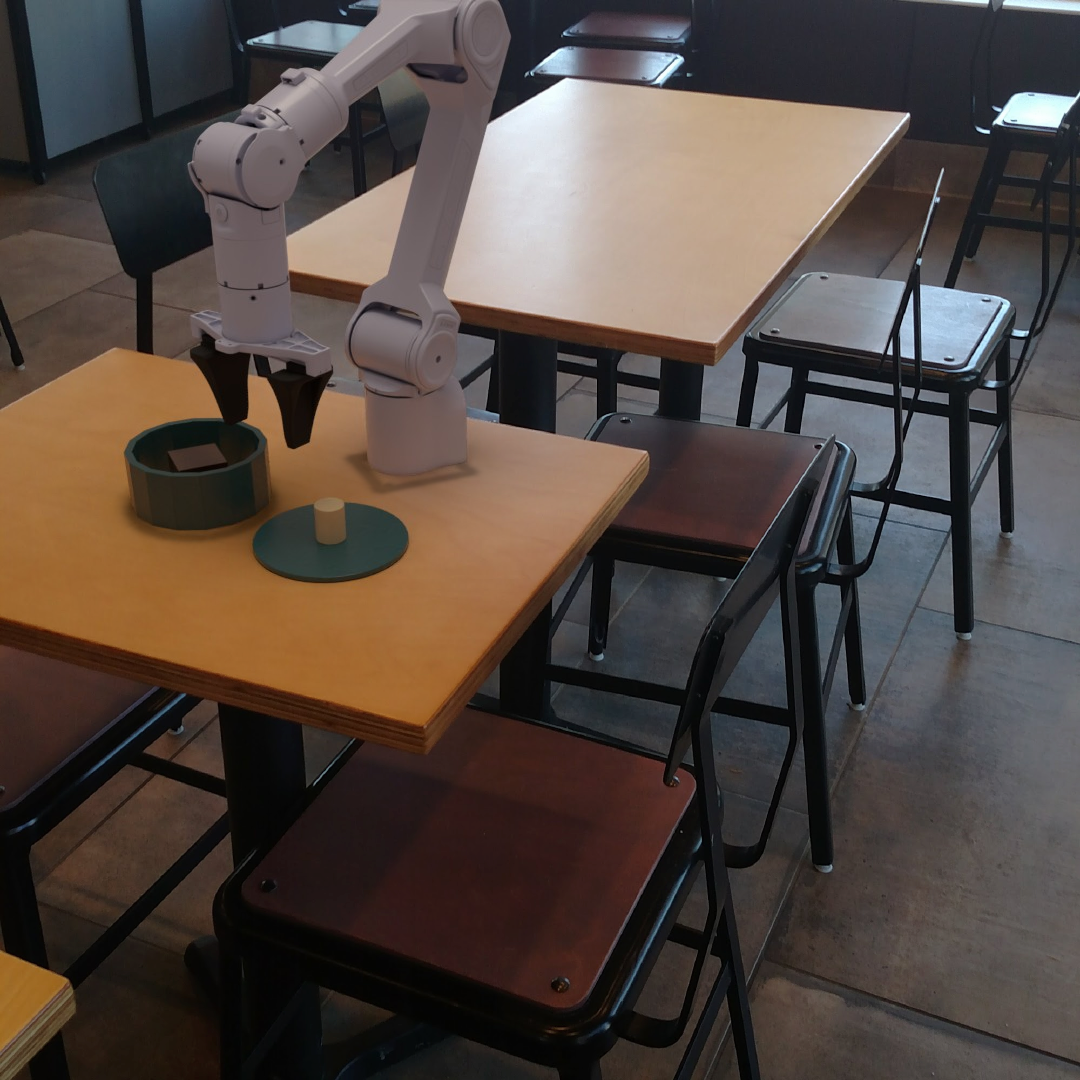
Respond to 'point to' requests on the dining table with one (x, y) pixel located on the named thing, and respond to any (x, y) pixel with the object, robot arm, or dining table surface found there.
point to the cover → (330, 541)
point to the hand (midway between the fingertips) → (267, 433)
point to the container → (198, 475)
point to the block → (196, 459)
